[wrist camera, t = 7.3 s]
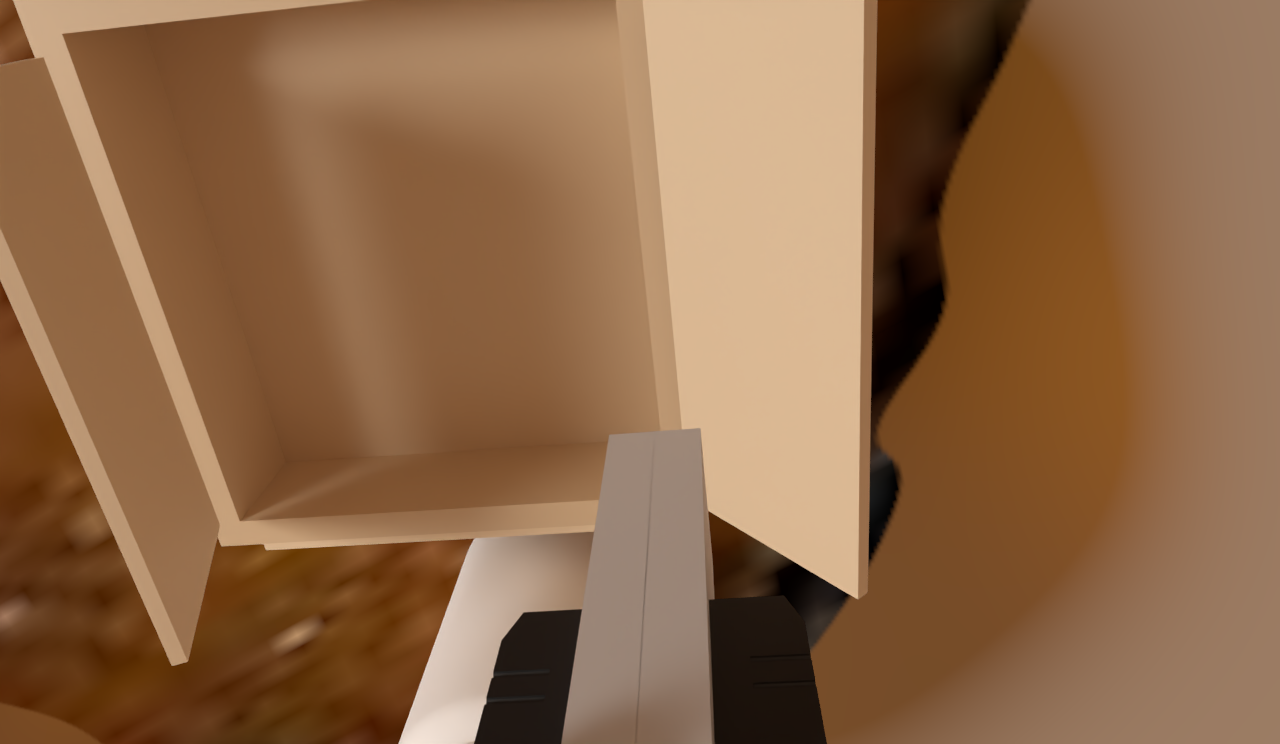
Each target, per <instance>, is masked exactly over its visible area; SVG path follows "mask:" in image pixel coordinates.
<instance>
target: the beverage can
mask: <svg viewBox="0 0 1280 744" xmlns="http://www.w3.org/2000/svg"><path fill="white" fill-rule="evenodd" d="M593 536H594V532H579V533H561V534H543V535H526V536H508V537H490V538H475V539H474V540H473V542H472V544H471V546H470V548H469V550H468V553H467V555H466V558H465V561H464V563H463V566H462V569H461V572H460V575H459V577H458V580H457V583H456V586H455V588H454V591H453V594H452V597H451V600H450V602H449V605H448V608H447V611H446V613H445V616H444V619H443V622H442V625H441V627H440V630H439V633H438V636H437V638H436V641H435V644H434V647H433V650H432V652H431V655H430V658H429V661H428V663H427V666H426V669H425V672H424V675H423V677H422V680H421V683H420V686H419V688H418V691H417V694H416V697H415V700H414V702H413V705H412V708H411V711H410V713H409V716H408V719H407V722H406V725H405V727H404V730H403V733H402V736H401V739H400V741H399V744H474V742H475V738H476V734H477V730H478V727H479V723H480V719H481V715H482V712H483V708H484V704H486V697H487V693H488V689H489V685H490V682H491V678H493V670H494V667H495V663H496V659H497V655H498V652H499V648H500V644H501V640H502V639H503V638H504V636H505V635H506V634H507V633H508V631H509V630H510V629H511V628H512V626H513V625H514V624H515V623H516V621H517V620H518V619H519V618H520V616H521V615H522V614H523V612H539V611H557V610H575V609H582V607H583V600H584V594H585V587H586V581H587V575H588V568H589V562H590V555H591V549H592V542H593Z"/></svg>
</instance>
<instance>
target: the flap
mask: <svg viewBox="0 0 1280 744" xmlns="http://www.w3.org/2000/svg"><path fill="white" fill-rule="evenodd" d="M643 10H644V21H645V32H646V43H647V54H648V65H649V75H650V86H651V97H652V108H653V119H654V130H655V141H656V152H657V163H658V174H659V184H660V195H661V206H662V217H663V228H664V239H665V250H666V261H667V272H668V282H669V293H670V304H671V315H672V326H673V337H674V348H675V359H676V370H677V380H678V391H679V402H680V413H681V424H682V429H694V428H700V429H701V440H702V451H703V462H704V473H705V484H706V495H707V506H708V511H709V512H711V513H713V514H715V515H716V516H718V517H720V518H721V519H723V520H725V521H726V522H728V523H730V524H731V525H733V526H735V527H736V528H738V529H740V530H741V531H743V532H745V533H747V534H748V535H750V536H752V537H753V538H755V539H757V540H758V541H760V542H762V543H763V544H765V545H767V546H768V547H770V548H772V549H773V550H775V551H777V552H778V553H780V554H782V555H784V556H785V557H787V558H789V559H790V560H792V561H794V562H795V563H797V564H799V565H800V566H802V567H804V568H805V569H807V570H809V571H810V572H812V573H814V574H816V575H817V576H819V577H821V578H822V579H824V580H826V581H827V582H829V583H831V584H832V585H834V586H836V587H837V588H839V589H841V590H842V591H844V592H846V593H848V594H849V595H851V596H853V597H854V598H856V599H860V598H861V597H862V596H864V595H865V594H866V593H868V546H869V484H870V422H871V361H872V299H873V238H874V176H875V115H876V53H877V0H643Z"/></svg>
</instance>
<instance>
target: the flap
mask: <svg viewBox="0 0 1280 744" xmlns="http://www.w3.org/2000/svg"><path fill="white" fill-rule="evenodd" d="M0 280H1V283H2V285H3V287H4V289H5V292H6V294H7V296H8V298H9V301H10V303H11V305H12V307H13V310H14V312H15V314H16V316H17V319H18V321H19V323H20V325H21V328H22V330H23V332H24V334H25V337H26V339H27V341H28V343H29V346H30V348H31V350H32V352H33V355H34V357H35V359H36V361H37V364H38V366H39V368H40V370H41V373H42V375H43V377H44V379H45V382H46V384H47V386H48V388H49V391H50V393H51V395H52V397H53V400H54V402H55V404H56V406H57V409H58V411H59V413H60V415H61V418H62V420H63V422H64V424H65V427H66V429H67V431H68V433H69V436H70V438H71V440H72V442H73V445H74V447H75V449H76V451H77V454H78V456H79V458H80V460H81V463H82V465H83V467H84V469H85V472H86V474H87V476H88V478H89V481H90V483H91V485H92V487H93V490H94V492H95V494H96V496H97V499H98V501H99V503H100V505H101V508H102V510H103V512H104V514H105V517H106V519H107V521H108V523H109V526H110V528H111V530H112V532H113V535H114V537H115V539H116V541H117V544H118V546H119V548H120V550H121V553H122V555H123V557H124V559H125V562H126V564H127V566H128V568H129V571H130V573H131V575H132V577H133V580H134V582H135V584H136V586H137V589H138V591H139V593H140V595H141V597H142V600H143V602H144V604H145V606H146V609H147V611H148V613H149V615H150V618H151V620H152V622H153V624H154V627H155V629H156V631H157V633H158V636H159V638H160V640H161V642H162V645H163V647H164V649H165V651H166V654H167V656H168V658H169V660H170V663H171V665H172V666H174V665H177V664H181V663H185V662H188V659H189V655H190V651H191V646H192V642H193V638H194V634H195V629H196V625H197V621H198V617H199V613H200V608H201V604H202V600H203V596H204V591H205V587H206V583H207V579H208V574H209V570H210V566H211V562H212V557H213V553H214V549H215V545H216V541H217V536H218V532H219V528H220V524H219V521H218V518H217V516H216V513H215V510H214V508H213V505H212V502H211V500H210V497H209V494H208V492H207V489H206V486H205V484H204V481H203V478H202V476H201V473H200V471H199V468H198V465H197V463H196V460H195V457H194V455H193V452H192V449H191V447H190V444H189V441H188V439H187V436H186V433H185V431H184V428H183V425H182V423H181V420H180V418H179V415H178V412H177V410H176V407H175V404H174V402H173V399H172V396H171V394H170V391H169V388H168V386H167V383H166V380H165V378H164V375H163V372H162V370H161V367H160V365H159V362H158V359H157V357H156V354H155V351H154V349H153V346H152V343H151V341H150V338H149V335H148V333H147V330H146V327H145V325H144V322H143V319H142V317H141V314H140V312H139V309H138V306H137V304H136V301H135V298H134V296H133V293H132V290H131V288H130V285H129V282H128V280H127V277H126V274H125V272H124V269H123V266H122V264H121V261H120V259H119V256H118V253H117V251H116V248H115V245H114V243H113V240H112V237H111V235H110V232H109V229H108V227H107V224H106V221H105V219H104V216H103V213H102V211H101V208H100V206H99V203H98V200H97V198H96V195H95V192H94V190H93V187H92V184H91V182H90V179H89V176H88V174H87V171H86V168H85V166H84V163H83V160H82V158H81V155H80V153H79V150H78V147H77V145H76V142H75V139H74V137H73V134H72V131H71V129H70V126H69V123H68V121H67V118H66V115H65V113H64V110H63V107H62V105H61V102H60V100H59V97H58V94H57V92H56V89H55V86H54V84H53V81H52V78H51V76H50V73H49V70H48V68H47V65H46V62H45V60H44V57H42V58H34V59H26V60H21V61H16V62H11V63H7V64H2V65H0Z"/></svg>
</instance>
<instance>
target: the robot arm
mask: <svg viewBox="0 0 1280 744" xmlns="http://www.w3.org/2000/svg"><path fill="white" fill-rule="evenodd" d="M474 744H827V742H826V737H825V732H824V726H823V720H822V715H821V709H820V704H819V698H818V693H817V688H816V684H815V676H814V671H813V666H812V660H811V656H810V649H809V643H808V638H807V632H806V627H805V622H804V620H803V619H802V618H801V617H800V615H799V614H798V613H797V612H796V610H795V609H794V608H793V606H792V605H791V604H790V603H789V601H788V600H787V599H786V598H785V596H784V595H782V596H765V597H747V598H729V599H714V579H713V560H712V549H711V538H710V527H709V516H708V506H707V495H706V484H705V473H704V462H703V451H702V440H701V429H700V428H694V429H680V430H666V431H653V432H639V433H625V434H612V435H609V439H608V446H607V452H606V459H605V465H604V471H603V478H602V484H601V491H600V497H599V504H598V510H597V517H596V523H595V529H594V536H593V542H592V549H591V555H590V562H589V568H588V575H587V581H586V587H585V594H584V600H583V607H582V609H575V610H557V611H539V612H523V614H522V615H521V616H520V618H519V619H518V620H517V621H516V623H515V624H514V625H513V626H512V628H511V629H510V630H509V631H508V633H507V634H506V635H505V636H504V638H503V639H502V640H501V644H500V648H499V652H498V655H497V659H496V663H495V667H494V670H493V678H491V682H490V685H489V689H488V693H487V697H486V704H484V708H483V712H482V715H481V719H480V723H479V727H478V730H477V734H476V738H475V742H474Z"/></svg>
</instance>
